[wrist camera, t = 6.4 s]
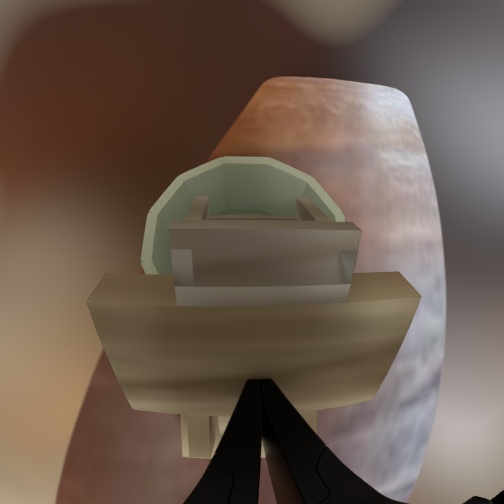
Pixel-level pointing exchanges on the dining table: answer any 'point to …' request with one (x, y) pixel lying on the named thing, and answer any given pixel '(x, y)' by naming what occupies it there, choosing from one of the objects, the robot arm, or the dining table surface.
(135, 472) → the dining table surface
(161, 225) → the pale green bowl
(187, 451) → the stand
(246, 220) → the catapult arm
